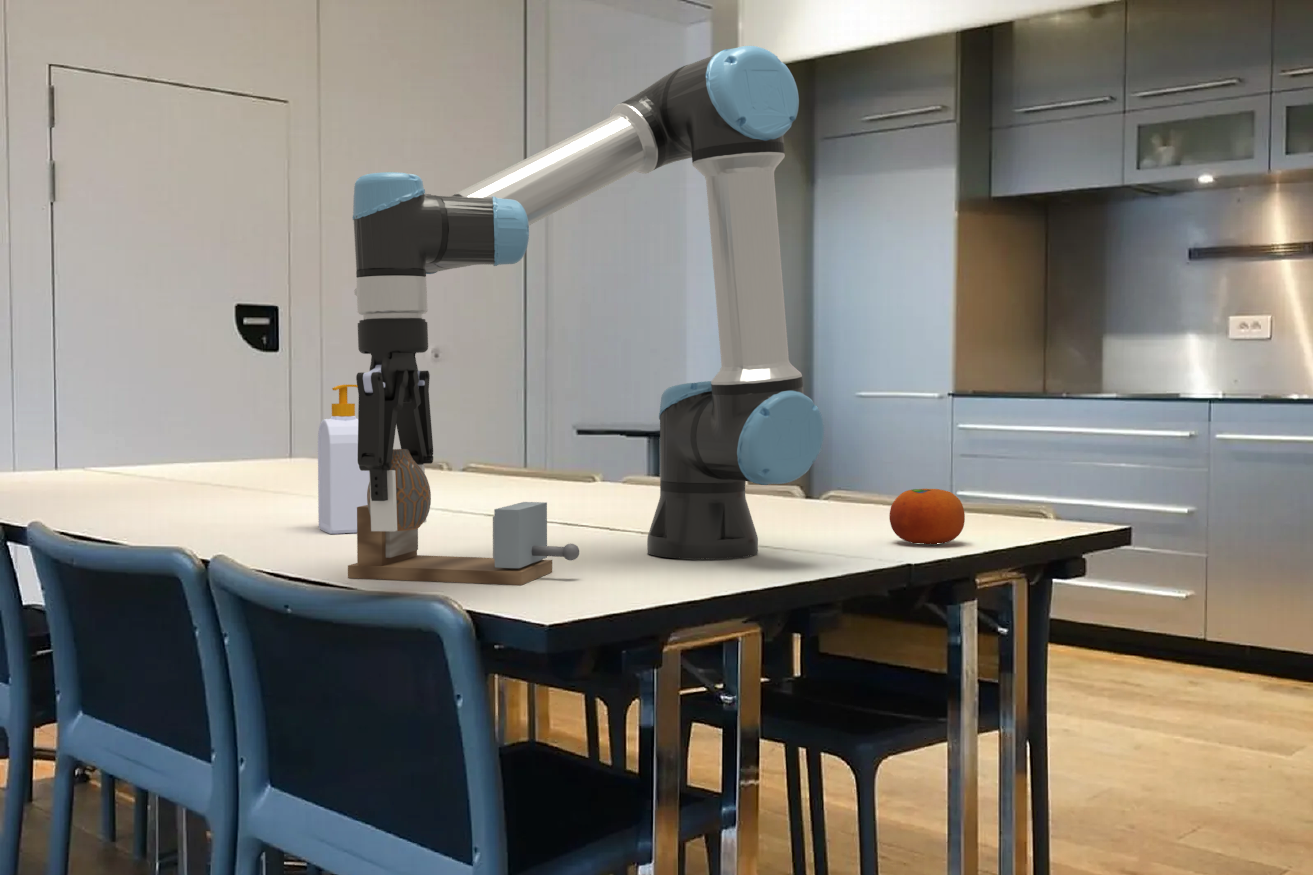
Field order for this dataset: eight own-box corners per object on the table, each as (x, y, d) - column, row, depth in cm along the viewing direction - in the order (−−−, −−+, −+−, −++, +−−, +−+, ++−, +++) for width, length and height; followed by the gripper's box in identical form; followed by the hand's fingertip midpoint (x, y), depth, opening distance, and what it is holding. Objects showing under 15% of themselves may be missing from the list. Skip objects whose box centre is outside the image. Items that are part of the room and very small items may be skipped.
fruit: (940, 539, 205) (941, 485, 205) (977, 547, 195) (978, 491, 195) (876, 541, 202) (877, 487, 202) (911, 550, 192) (911, 493, 192)
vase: (372, 526, 154) (369, 448, 154) (434, 524, 155) (431, 446, 154) (364, 534, 147) (361, 452, 147) (429, 531, 148) (426, 450, 147)
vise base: (552, 572, 169) (552, 503, 169) (521, 585, 158) (521, 511, 158) (388, 565, 175) (387, 499, 174) (347, 577, 164) (347, 507, 164)
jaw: (591, 559, 167) (591, 503, 167) (565, 570, 158) (565, 511, 157) (519, 556, 170) (519, 501, 169) (489, 567, 160) (489, 509, 160)
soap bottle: (375, 532, 212) (374, 384, 211) (330, 534, 209) (329, 384, 208) (361, 527, 220) (360, 384, 220) (318, 529, 217) (316, 384, 217)
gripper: (399, 320, 160) (406, 515, 162) (317, 316, 141) (325, 538, 142) (459, 318, 158) (465, 516, 160) (384, 313, 139) (391, 538, 141)
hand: (399, 526), depth 151 cm, fingers closed on vase, 7 cm apart
